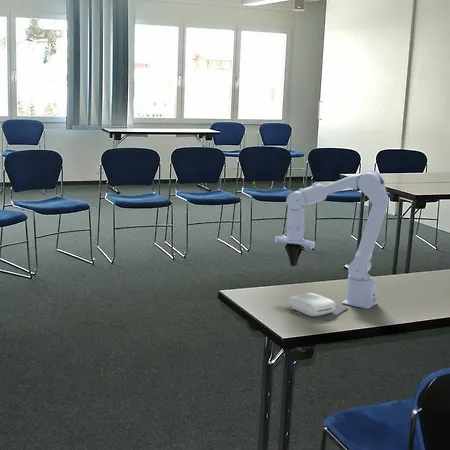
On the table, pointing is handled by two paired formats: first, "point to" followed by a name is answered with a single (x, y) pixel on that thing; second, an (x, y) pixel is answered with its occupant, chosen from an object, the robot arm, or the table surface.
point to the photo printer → (312, 304)
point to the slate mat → (330, 315)
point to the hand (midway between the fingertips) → (293, 265)
